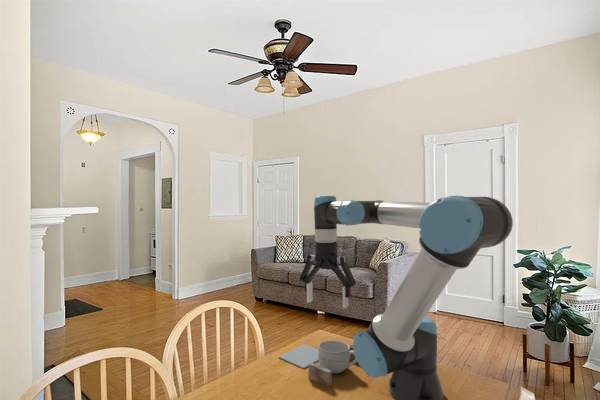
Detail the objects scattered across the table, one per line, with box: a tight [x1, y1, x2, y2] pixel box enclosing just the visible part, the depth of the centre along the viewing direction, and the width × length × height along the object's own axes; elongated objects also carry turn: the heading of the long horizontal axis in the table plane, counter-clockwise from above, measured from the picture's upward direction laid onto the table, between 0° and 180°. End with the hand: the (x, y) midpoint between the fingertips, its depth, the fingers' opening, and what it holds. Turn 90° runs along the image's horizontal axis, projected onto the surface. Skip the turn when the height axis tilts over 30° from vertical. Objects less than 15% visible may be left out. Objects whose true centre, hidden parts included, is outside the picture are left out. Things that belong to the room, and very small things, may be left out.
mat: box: [278, 343, 319, 370], centre depth 123 cm, size 12×14×1 cm
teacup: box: [317, 339, 358, 374], centre depth 113 cm, size 14×11×8 cm
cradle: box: [308, 343, 355, 389], centre depth 113 cm, size 8×21×5 cm, turn 138°
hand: (327, 304), depth 114 cm, fingers open, 13 cm apart
